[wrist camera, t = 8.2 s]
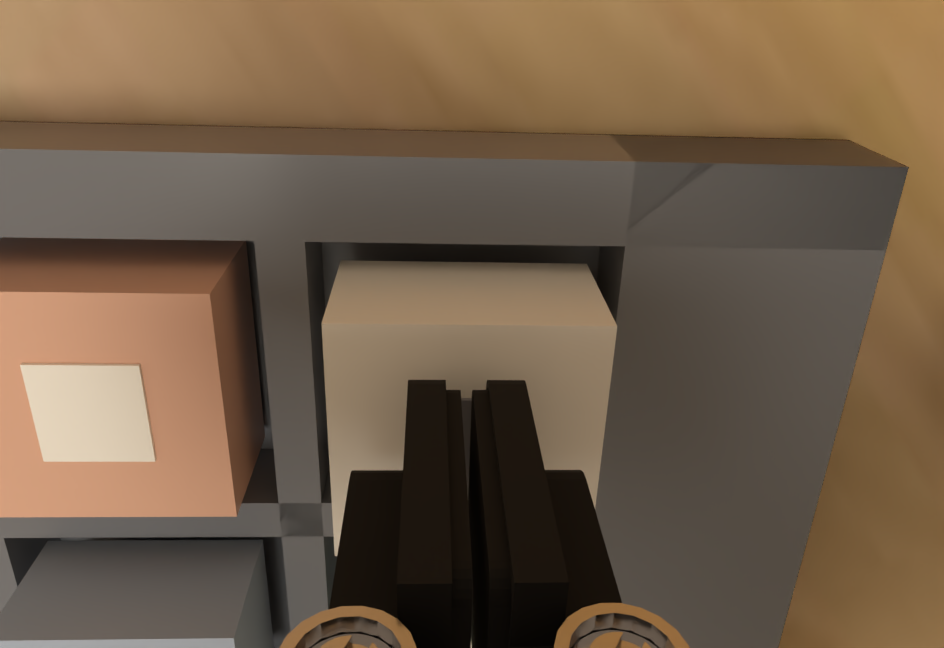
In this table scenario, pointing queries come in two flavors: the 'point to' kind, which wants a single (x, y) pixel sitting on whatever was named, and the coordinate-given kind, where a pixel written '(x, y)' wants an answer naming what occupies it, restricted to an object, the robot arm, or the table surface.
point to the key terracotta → (126, 378)
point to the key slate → (142, 596)
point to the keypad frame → (521, 241)
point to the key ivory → (463, 356)
